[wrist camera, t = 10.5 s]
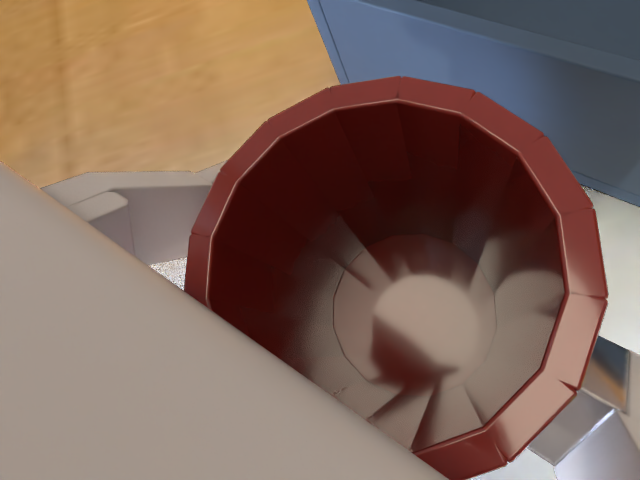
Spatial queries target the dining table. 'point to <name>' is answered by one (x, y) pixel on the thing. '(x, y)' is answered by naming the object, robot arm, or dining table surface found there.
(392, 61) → the tote
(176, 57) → the dining table surface
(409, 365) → the canister
